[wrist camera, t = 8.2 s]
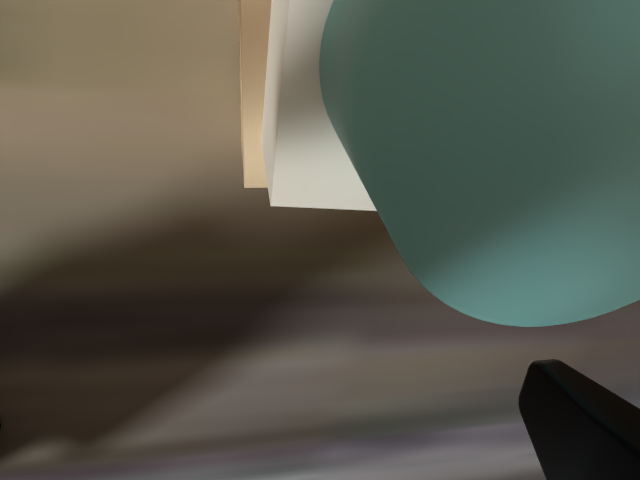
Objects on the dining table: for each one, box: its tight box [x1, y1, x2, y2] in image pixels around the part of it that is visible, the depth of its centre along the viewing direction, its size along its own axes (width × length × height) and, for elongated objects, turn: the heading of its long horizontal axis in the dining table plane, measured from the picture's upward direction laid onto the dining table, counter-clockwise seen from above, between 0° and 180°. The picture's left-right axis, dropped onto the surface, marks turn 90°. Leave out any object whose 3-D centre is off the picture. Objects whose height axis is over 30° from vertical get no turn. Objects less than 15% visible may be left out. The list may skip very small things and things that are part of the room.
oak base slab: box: [238, 0, 272, 188], centre depth 16 cm, size 9×9×4 cm
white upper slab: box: [261, 0, 377, 211], centre depth 12 cm, size 7×7×4 cm
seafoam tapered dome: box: [319, 0, 640, 327], centre depth 9 cm, size 6×6×5 cm
